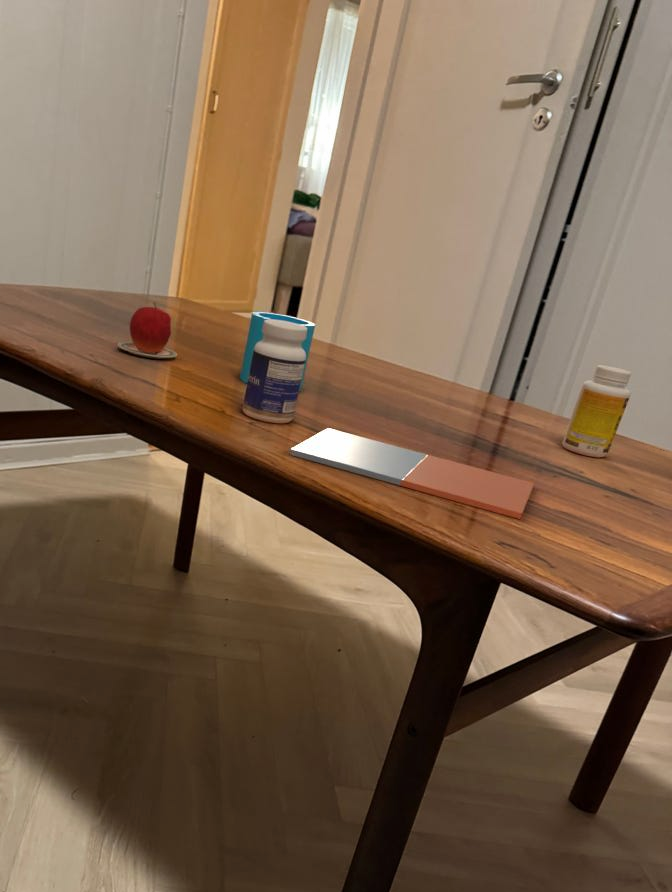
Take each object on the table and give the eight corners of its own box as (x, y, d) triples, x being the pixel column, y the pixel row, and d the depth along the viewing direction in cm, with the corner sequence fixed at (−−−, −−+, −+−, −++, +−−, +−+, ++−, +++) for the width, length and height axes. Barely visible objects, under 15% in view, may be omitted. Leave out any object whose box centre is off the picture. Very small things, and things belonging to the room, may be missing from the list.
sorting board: (532, 488, 91) (534, 483, 91) (520, 519, 80) (522, 513, 80) (326, 433, 98) (328, 427, 97) (289, 454, 87) (290, 448, 86)
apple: (150, 347, 127) (157, 298, 124) (188, 361, 122) (196, 311, 119) (105, 346, 122) (111, 295, 119) (143, 360, 117) (150, 308, 114)
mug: (281, 394, 113) (295, 326, 109) (227, 377, 116) (239, 311, 113) (325, 387, 122) (340, 325, 118) (275, 372, 126) (287, 311, 122)
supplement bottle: (611, 462, 110) (643, 377, 105) (565, 452, 111) (595, 367, 106) (601, 451, 115) (632, 370, 110) (557, 442, 115) (586, 360, 111)
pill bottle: (237, 407, 102) (255, 315, 97) (286, 414, 103) (306, 323, 98) (245, 420, 97) (264, 323, 92) (297, 427, 98) (318, 332, 93)
